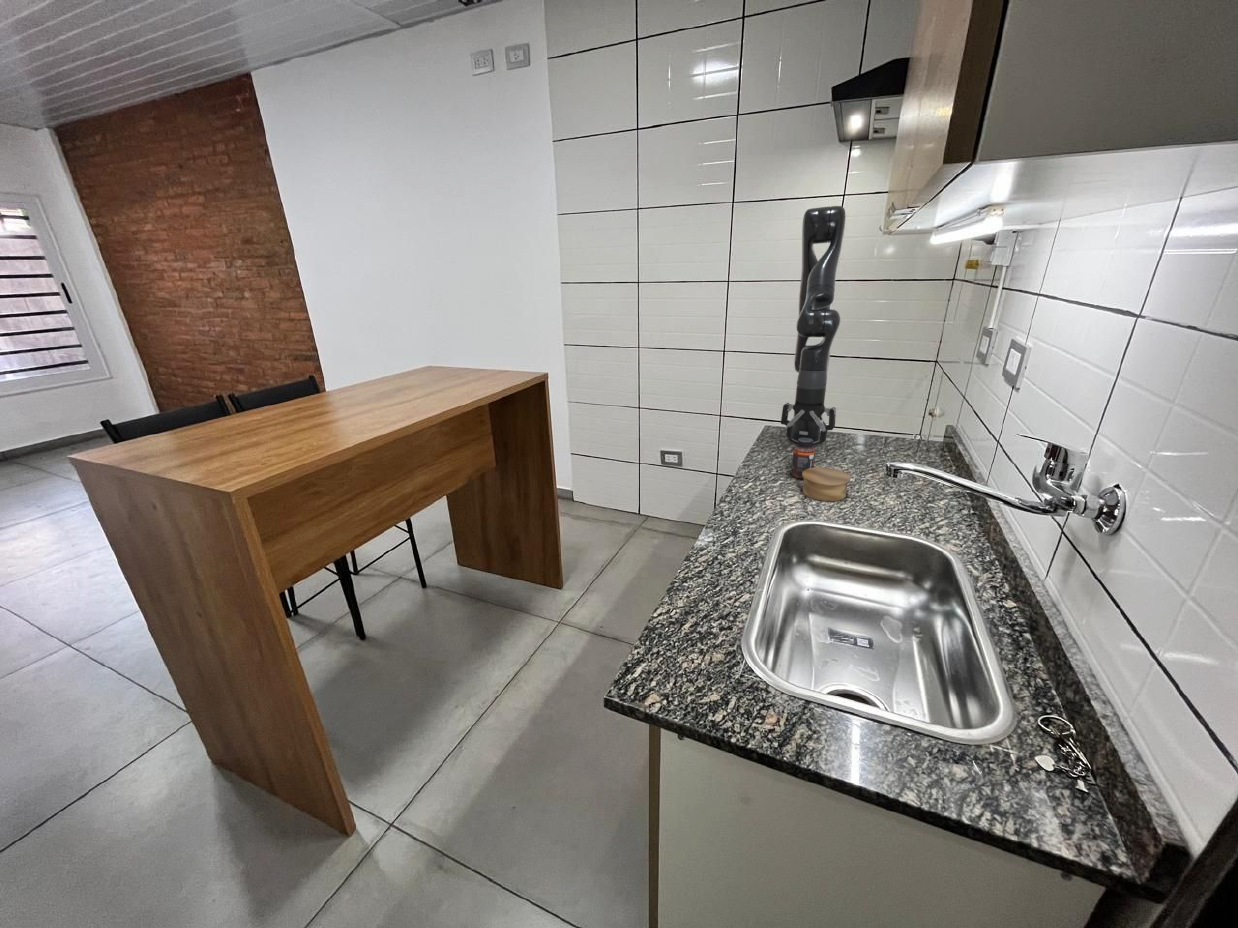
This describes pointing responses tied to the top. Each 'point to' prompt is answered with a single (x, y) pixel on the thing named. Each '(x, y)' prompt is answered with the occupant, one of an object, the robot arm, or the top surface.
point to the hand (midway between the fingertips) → (805, 441)
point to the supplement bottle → (803, 457)
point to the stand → (825, 483)
